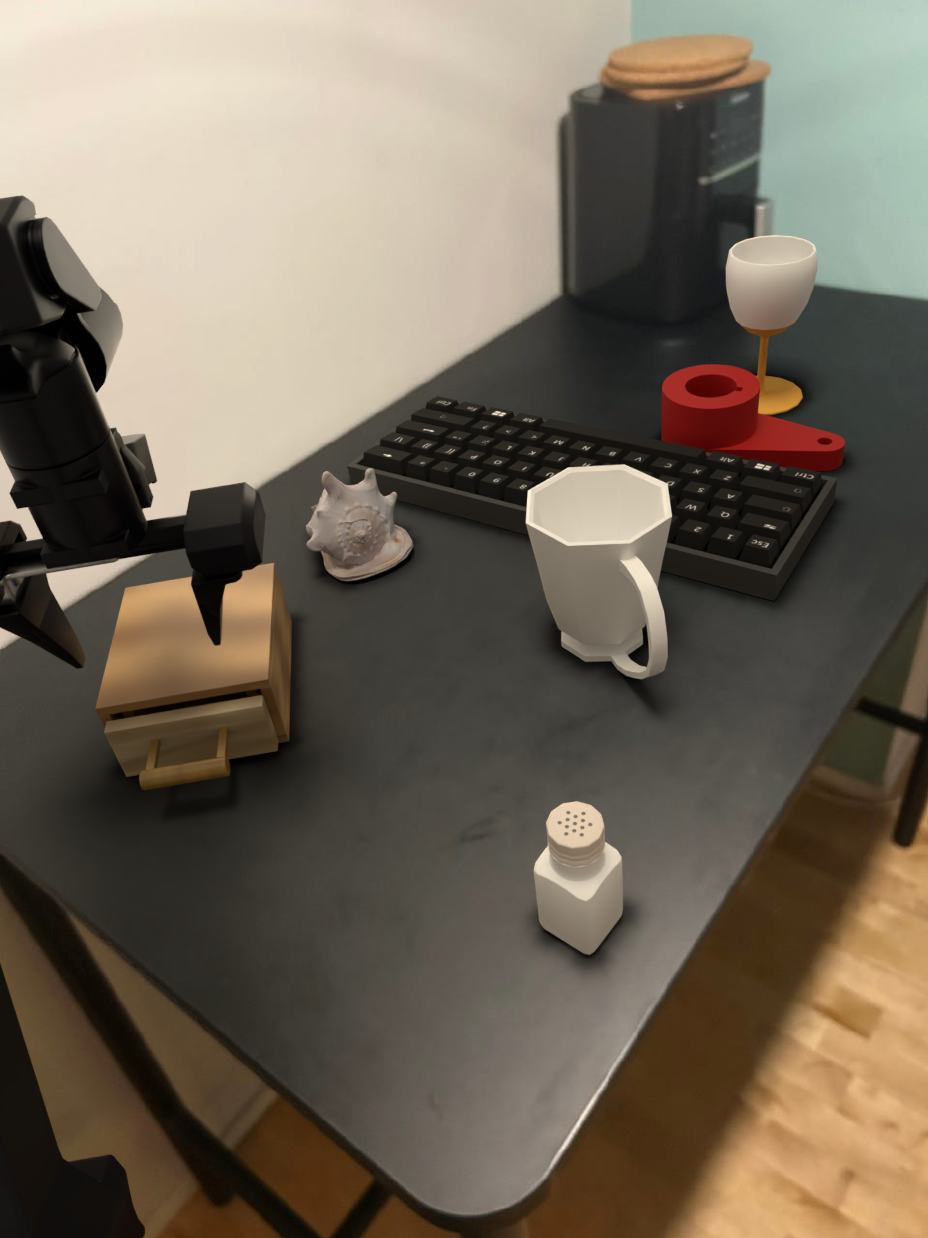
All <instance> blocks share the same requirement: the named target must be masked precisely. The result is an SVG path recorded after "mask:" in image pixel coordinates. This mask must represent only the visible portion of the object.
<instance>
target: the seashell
mask: <svg viewBox="0 0 928 1238" xmlns="http://www.w3.org/2000/svg"><path fill="white" fill-rule="evenodd" d="M321 484H322V487H323V488H324V489H323V491H322V493H321V496H320V497H319V500H318V503H317V504H315V505H313V506H311V508H310V509H311V510H312V512H313V513H312V516H311V518H310V520H309V521H308V523H307V524H305V531H306V534H308V536H309V538H310V539H309V540H308V541H307V542H306V548H307V549H308V550H309V551H311V552H314V553H315V552H316V553H317V552H320V554H321V556H322V558H323V564H324V568H325V570H326V572H328V574H329V575H331V576H332V577H334V578H335V579H337V580H339V581H342V582H355V581H361V580H364V579H368V578H370V577H373V576H377V575H379V574H381V573H383V572H386V571H388V570H390V569H393V568H394V567H396V566H397V565H398V564H400V563H401V562H402V561H404V560H405V559H407V558H408V556H409V555H410V553H411V551H412V550H413V548H414V541H413V539H412V538H411V536H410V534H409V533H408V532H407V530H406V529H405V528H403V527H402V526H400V525H398V524H395V520H394V510H395V506H396V502H397V500H396V499H397V493H396V492H392V493H391V494H390V495H388V496H383V495H382V494H381V493H380V492H379V489H378V486H377V481H376V476H375V472H374V470H373V469H372V468H369V469H367V470H366V472H365V479H364V480H363V481H361V482H360V483H359V484H356V485H351V484H345V483H343V482H342V481H340V480H339V478H337V477H335V476H334V475H333V474H332V473H331V472H330V471H328V470H326V471H324V472H323V473H322V475H321Z"/></svg>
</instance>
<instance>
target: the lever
mask: <svg viewBox="0 0 928 1238" xmlns="http://www.w3.org/2000/svg"><path fill="white" fill-rule="evenodd" d="M756 376H757V375H755V374H754V373H752V372H751V371H749V370H746V369H744V368H741V367H738V366H734V365H728V364H717V363H716V364H715V363H712V364H711V363H710V364H708V363H707V364H699V365H692V366H688V367H684V368H682V369H679V370H677V371H674V372H672V373H671V374H670V375H668V376H667V377H666V378H665V379H664V381H663V383H662V386H661V436H660V438H661V440H660V441H665V442H670V443H675V444H680V445H685V446H690V447H695V448H700V449H705V452H708V453H713V452H714V451H715V452H720V453H725V454H731V455H736V456H741V457H742V459H744V460H749V461H750V459H756V460H761V461H766V462H771V463H776V464H779V466H780V467H784V468H788V467H789V466H791V467H796V468H801V469H806V470H811V471H816V472H831V471H835V470H838V469H839V468H840V467H841V466H842V464H843V459H844V452H845V448H846V447H845V446H846V441H845V439H844V438H843V436H840V435H839V434H836V433H833V432H831V431H826V430H822V429H818V428H816V427H811V426H807V425H804V424H800V423H797V422H793V421H789V420H785V419H781V418H778V417H775V416H772V415H770V416H767V415H764V414H760V413H758V407H759V395H760V382H759V380H758V378H757V377H756Z"/></svg>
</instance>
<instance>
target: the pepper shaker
mask: <svg viewBox="0 0 928 1238" xmlns="http://www.w3.org/2000/svg"><path fill="white" fill-rule="evenodd" d="M605 827H606V826H605V822H604V819H603V815H602V814H601V812H600V811H598V810H597V809H596V808H595V807H594V806H593V805H591V804H589V803H585V802H582V801H578V800H576V801H570V802H563V803H561V804H559V805H558V806H557V807H555V808H554V809H552V810H551V811H550V813H549V815H548V817H547V819H546V821H545V828H546V838H547V846H546V847H545V849H544V850H543V851H542V853H540V855H539V857H538V858H537V859H536V860H535V863H534V867H533V879H534V888H535V897H536V906H537V914H538V922H539V924H540V926H541V927H542V928H543V929H544V930H545V931H547V932H549V933H550V934H552V935H554V936H555V937H556V938H558V939H560V940H561V941H563V942H565V943H566V944H567V945H569V946H571V947H572V948H574V949H576V950H577V951H579V952H581V953H582V954H584V955H588V956H590V955H592V954H593V953H595V952H596V950H597V949H598V948H599V946H600V945H601V944H602V943H603V942H604V940H605V939H606V938H607V936H608V935H609V933H610V932H611V931H612V930H613V928H614V927H615V925H616V924H617V923H618V922H619V920H620V919H621V918H622V915H623V910H624V891H623V887H624V885H623V857H622V856H621V854H620V852H619V851H618V849H616V848H615V847H614V846H612V845H610V844H609V843H608V842H606V835H605V834H606V831H605Z"/></svg>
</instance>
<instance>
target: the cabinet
mask: <svg viewBox="0 0 928 1238" xmlns="http://www.w3.org/2000/svg"><path fill="white" fill-rule="evenodd" d="M191 580H192V576H188V577H181V578H175V579H169V580H164V581H163V580H162V581H158V582H153V583H152V582H151V583H146V584H139V585H134V586H128V587H125V588H124V592H123V596H122V600H121V604H120V608H119V612H118V615H117V620H116V623H115V626H114V627H115V628H114V631H113V636H112V640H111V643H110V648H109V652H108V656H107V660H106V664H105V668H104V671H103V677H102V680H101V684H100V687H99V692H98V696H97V700H96V704H95V708H94V709H95V712H96V714H97V715H98V717H99V719H100V721H101V723H102V725H103V727H104V728H105V726H106V722H107V721H112V720H118V719H124V716H123V714H122V712H127V711H132V710H138V709H144V708H150V707H156V706H162V705H168V704H174V703H179V702H185V701H191V700H197V699H203V698H209V697H215V696H220V695H226V694H232V693H238V692H244V691H250V690H256V689H260V690H261V693H262V695H263V697H264V700H265V703H266V706H267V709H268V712H269V715H270V717H271V720H272V723H273V726H274V729H275V732H276V735H277V737H278V744H282V743H287V742H290V722H291V721H290V720H291V719H290V718H291V717H290V716H291V681H292V680H291V679H292V678H291V677H292V676H291V675H292V639H293V637H292V636H293V620H292V618H291V614H290V610H289V607H288V605H287V601H286V597H285V594H284V591H283V587H282V585H281V581H280V578H279V574H278V571H277V568H276V565H275V562H270V563H265V564H259V565H258V566H256V567H255V568H254V569H252V570H246V571H243V575H242V578H241V579H240V580H239V581H237V582H235V583H230V584H227V585H226V586H225V590H224V595H223V616H222V639H221V645H218V646H215V645H214V644H213V642H212V641H211V639H210V637H209V636H208V633H207V631H206V628H205V625H204V622H203V619H202V616H201V613H200V610H199V607H198V604H197V601H196V598H195V595H194V592H193V589H192V586H191Z"/></svg>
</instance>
